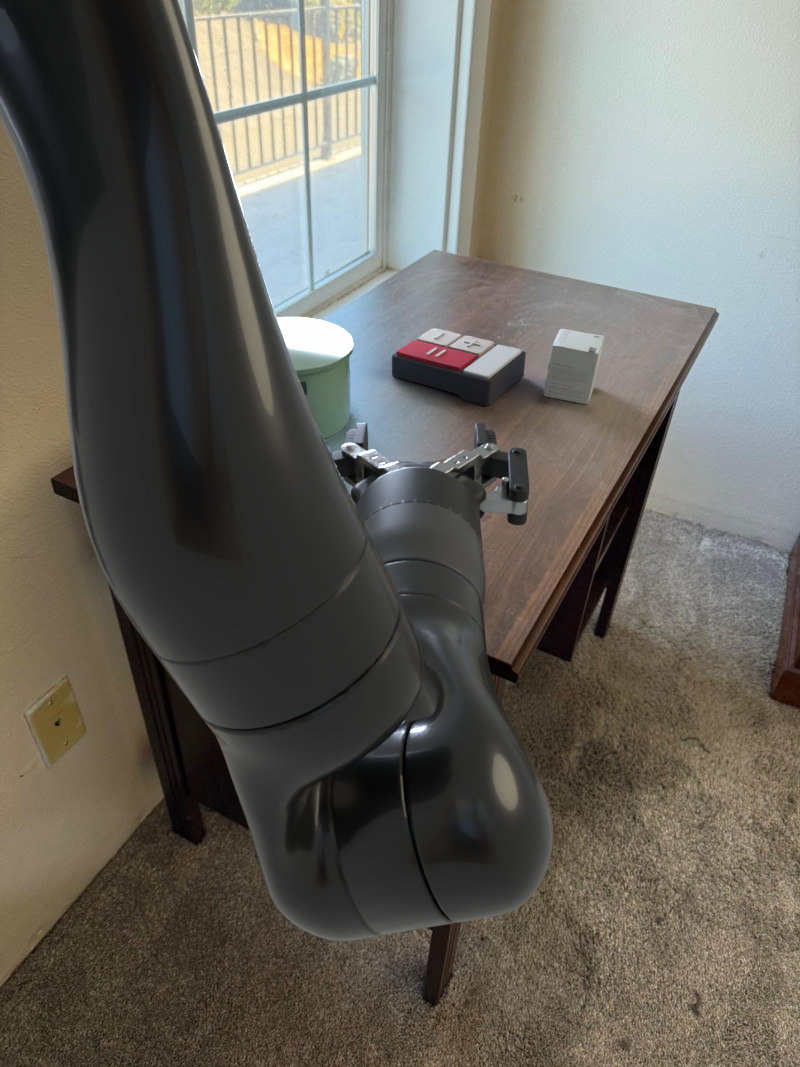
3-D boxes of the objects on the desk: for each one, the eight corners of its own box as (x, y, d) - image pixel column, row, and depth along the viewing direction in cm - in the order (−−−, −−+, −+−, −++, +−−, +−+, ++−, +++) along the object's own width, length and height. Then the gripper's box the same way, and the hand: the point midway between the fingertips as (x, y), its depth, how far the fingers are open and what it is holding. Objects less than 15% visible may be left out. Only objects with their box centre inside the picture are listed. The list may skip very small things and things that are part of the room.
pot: (234, 454, 85) (225, 377, 79) (232, 386, 98) (224, 316, 92) (362, 445, 88) (363, 370, 82) (344, 381, 100) (344, 312, 94)
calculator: (432, 324, 107) (527, 346, 101) (431, 352, 110) (524, 375, 103) (390, 350, 100) (490, 375, 93) (390, 380, 102) (488, 406, 96)
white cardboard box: (550, 377, 103) (559, 327, 99) (594, 385, 102) (605, 334, 97) (542, 397, 99) (551, 344, 94) (588, 405, 97) (600, 353, 93)
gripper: (551, 505, 39) (521, 386, 52) (280, 504, 39) (320, 386, 53) (539, 616, 43) (514, 479, 56) (294, 614, 44) (328, 478, 57)
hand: (420, 434), depth 55 cm, fingers open, 8 cm apart
